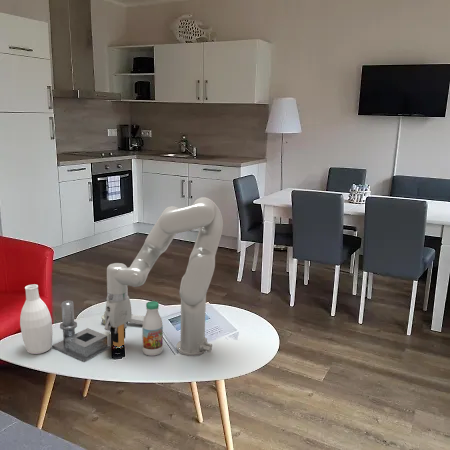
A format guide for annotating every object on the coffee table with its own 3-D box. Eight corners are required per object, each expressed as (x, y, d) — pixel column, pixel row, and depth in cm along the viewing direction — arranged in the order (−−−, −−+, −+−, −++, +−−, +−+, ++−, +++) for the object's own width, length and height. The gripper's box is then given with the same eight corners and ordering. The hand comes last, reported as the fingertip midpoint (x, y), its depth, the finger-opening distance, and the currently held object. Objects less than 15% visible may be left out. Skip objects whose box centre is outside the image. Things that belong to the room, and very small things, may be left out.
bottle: (17, 353, 172) (7, 290, 166) (37, 339, 182) (29, 279, 176) (41, 357, 169) (33, 293, 163) (61, 343, 179) (53, 282, 173)
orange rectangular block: (124, 346, 180) (123, 318, 177) (118, 349, 177) (117, 320, 175) (118, 344, 181) (118, 316, 179) (113, 347, 179) (112, 318, 176)
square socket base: (110, 347, 178) (109, 307, 174) (84, 362, 168) (82, 319, 164) (77, 334, 188) (75, 295, 184) (50, 346, 178) (47, 306, 174)
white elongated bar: (157, 321, 194) (100, 309, 195) (155, 335, 196) (99, 324, 197) (160, 316, 199) (105, 305, 200) (158, 330, 201) (103, 318, 202)
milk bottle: (138, 351, 177) (137, 302, 172) (154, 344, 182) (154, 297, 177) (150, 358, 172) (150, 309, 167) (166, 351, 177) (166, 303, 172)
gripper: (108, 304, 166) (109, 350, 170) (139, 291, 179) (140, 334, 184) (94, 300, 170) (95, 345, 174) (125, 287, 183) (126, 329, 187)
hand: (118, 339), depth 179 cm, fingers closed on orange rectangular block, 3 cm apart
